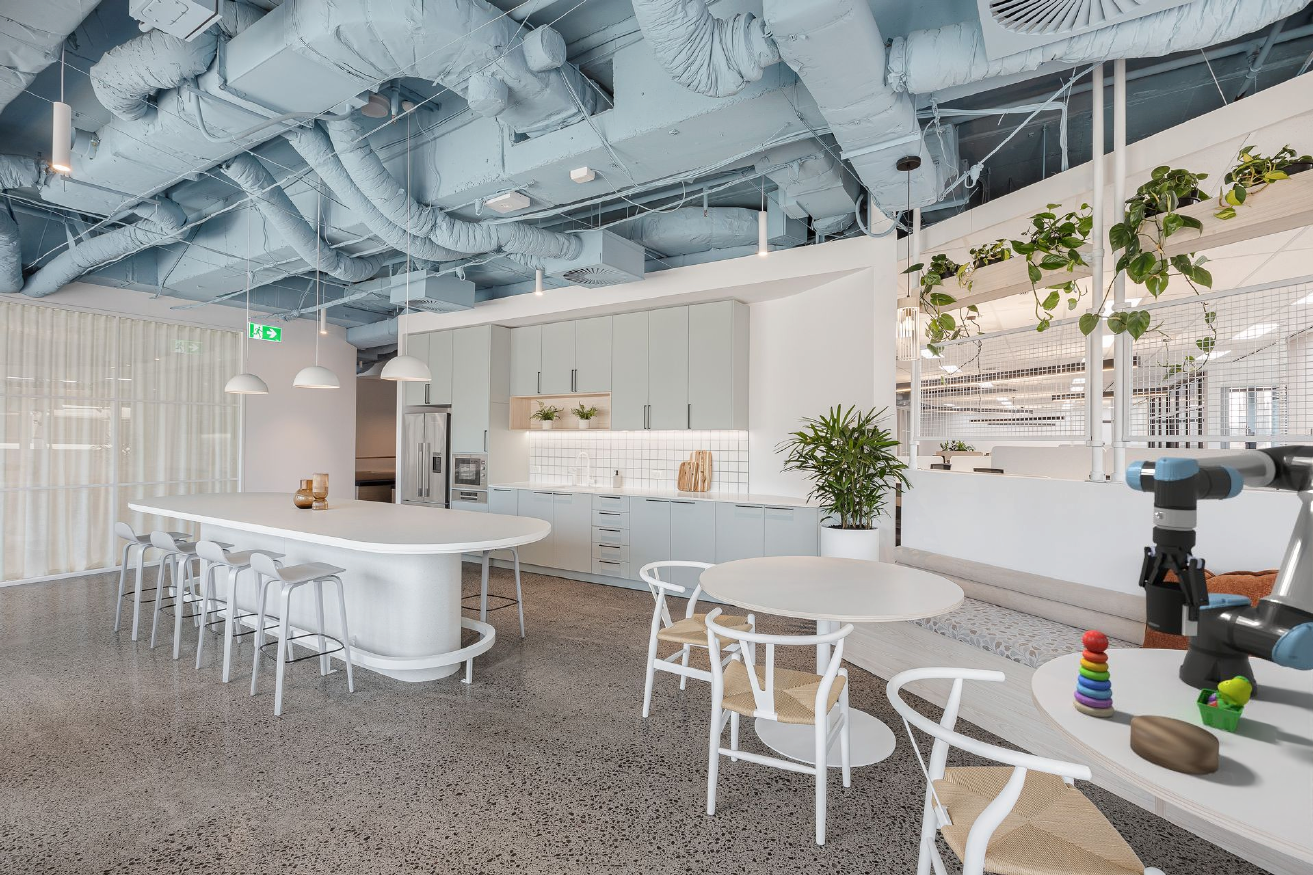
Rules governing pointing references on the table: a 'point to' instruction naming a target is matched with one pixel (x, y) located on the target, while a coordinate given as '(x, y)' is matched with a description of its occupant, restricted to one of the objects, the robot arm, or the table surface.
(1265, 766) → the table surface
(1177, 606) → the pen holder
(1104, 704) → the stacking toy
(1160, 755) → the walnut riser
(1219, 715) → the fruit basket
